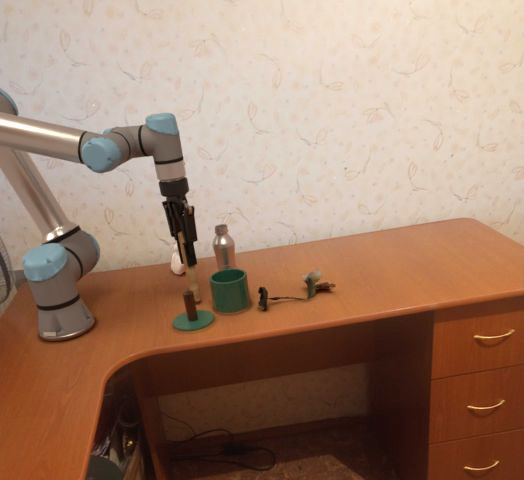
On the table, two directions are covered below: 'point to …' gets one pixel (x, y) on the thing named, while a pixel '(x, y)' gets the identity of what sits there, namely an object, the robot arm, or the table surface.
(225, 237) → the plastic bottle
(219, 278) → the pot
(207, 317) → the lid
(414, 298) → the table surface
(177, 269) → the bust
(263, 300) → the artificial flower
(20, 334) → the table surface
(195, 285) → the stick
